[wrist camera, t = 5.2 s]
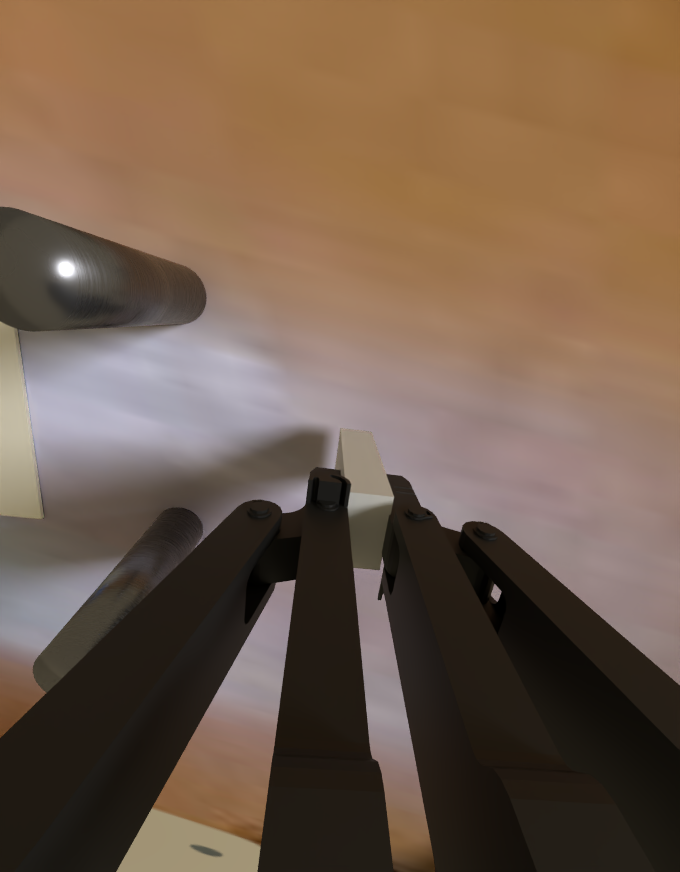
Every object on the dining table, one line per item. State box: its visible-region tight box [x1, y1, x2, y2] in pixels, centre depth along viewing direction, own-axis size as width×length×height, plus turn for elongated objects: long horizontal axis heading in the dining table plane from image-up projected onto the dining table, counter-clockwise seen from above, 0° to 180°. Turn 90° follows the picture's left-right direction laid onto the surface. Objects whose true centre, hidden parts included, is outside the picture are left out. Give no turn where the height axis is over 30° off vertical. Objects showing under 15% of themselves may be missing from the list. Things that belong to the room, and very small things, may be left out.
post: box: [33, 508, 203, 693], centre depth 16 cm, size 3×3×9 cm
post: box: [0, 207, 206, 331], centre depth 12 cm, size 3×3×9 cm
